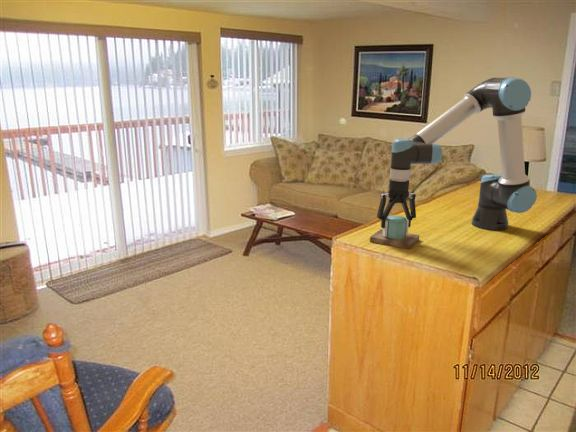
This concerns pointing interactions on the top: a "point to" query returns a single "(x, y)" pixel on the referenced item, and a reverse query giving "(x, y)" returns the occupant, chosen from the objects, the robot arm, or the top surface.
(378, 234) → the stud base
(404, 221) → the cap
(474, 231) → the top surface
